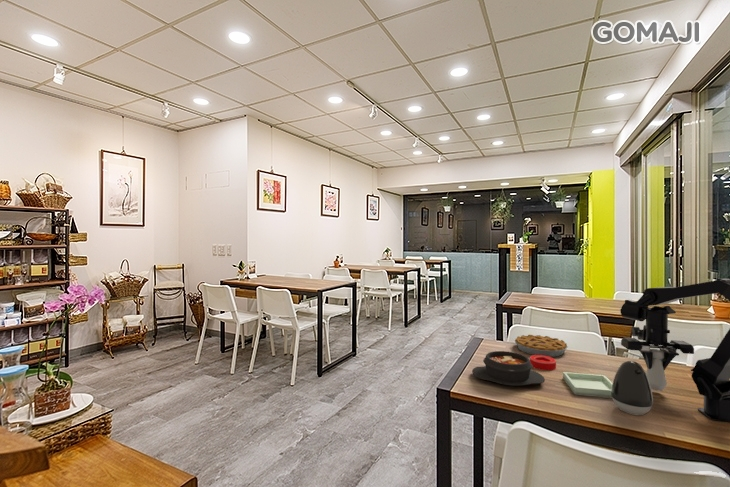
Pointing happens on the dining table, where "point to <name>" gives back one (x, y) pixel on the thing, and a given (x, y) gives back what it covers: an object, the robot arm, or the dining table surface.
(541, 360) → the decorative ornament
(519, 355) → the casserole
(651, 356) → the robot arm
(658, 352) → the salt shaker
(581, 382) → the tray
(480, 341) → the dining table surface
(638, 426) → the dining table surface
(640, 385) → the dark grey egg shape
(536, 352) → the pie
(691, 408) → the dining table surface
